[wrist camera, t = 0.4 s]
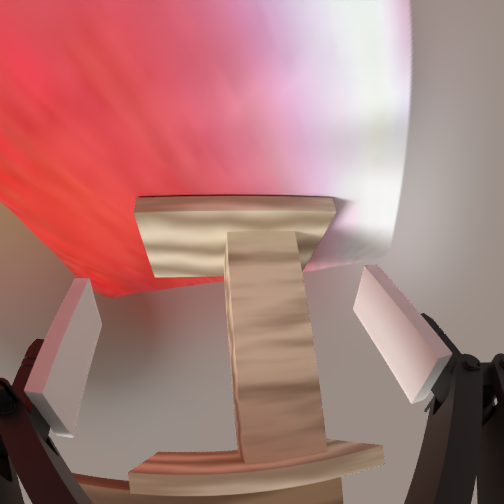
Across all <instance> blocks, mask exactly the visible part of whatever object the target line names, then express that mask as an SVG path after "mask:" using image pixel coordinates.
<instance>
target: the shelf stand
mask: <svg viewBox="0 0 504 504" xmlns="http://www.w3.org/2000/svg"><path fill="white" fill-rule="evenodd" d="M336 212H337V211H336V207H335V204H334V200H333V198H325V197H294V196H175V197H143V198H136V202H135V208H134V215H135V218H136V221H137V225H138V228H139V231H140V234H141V237H142V240H143V243H144V247H145V250H146V253H147V256H148V258H149V261H150V264H151V267H152V270H153V273H154V276H155V277H200V276H224V279H225V295H226V311H227V326H228V340H229V354H230V367H231V379H232V390H233V402H234V414H235V425H236V435H237V445H238V450H232V451H216V452H157V453H156V454H155V455H153V456H152V457H150V458H149V459H147V460H146V461H144V462H143V463H142V464H140V465H139V466H137V467H135V468H134V469H132V470H131V471H129V472H128V476H129V485H130V493H133V494H144V495H161V496H216V495H233V494H245V493H255V492H264V491H271V490H278V489H285V488H291V487H297V486H302V485H308V484H313V483H317V482H322V481H326V480H331V479H335V478H339V477H343V476H347V475H351V474H354V473H357V472H361V471H365V470H368V469H371V468H374V467H378V466H381V465H384V464H385V463H384V454H383V445H375V444H365V443H356V442H347V441H340V440H332V439H326V435H325V426H324V417H323V409H322V401H321V393H320V385H319V378H318V372H317V371H318V370H317V363H316V357H315V351H314V350H315V349H314V343H313V337H312V330H311V324H310V317H309V310H308V304H307V298H306V292H305V286H304V280H303V274H302V271H303V269H304V268H305V266H306V264H307V263H308V261H309V259H310V258H311V256H312V254H313V252H314V251H315V249H316V247H317V246H318V244H319V242H320V240H321V239H322V237H323V235H324V233H325V232H326V230H327V228H328V226H329V225H330V223H331V221H332V219H333V218H334V216H335V214H336Z"/></svg>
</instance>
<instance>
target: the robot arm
mask: <svg viewBox="0 0 504 504" xmlns="http://www.w3.org/2000/svg"><path fill="white" fill-rule="evenodd" d="M353 310H354V312H355V313H356V315H357V316H358V318H359V320H360V321H361V323H362V324H363V326H364V327H365V329H366V331H367V332H368V333H369V335H370V337H371V338H372V340H373V341H374V343H375V345H376V346H377V348H378V350H379V351H380V353H381V354H382V356H383V358H384V359H385V361H386V363H387V364H388V366H389V367H390V369H391V371H392V372H393V374H394V375H395V377H396V379H397V381H398V382H399V384H400V386H401V387H402V389H403V390H404V392H405V394H406V396H407V397H408V399H409V401H410V403H411V404H412V403H415V402H418V401H421V400H424V399H425V398H426V397H427V395H428V394H429V392H430V391H432V392H433V394H434V397H433V398H432V400H431V401H430V402H429V404H428V405H427V407H426V408H425V412H427V410H428V409H429V408H430V411H429V416H428V421H427V426H426V430H425V434H424V439H423V443H422V447H421V451H420V455H419V458H418V462H417V465H416V469H415V472H414V476H413V479H412V482H411V485H410V488H409V491H408V494H407V497H406V500H405V503H404V504H471V501H472V495H473V491H474V485H475V479H476V476H477V499H478V504H504V354H497V355H495V357H494V358H493V360H492V362H490V363H480V361H479V360H478V359H477V358H475V357H474V356H472V355H469V354H461V353H460V352H459V350H458V349H457V348H456V347H455V345H454V344H453V343H452V342H451V341H450V339H449V338H448V337H447V336H446V334H444V332H443V331H442V330H441V328H439V326H438V325H437V324H436V322H435V321H434V320H433V319H432V318H430V317H429V316H427V315H426V314H424V313H423V314H420V313H419V312H418V311H417V309H416V308H415V307H414V306H413V305H412V304H411V303H410V301H409V300H408V299H407V298H406V297H405V296H404V295H403V293H402V292H401V291H400V290H399V289H398V288H397V287H396V285H395V284H394V283H393V282H392V281H391V280H390V279H389V278H388V276H387V275H386V274H385V273H384V272H383V271H382V270H381V269H380V268H379V267H378V266H377V265H366V266H364V269H363V273H362V277H361V281H360V285H359V289H358V293H357V297H356V301H355V304H354V308H353ZM101 327H102V322H101V319H100V315H99V312H98V309H97V305H96V302H95V298H94V294H93V290H92V287H91V283H90V279H89V278H80V279H75V280H74V281H73V283H72V285H71V287H70V289H69V291H68V293H67V295H66V297H65V299H64V301H63V302H62V304H61V306H60V308H59V311H58V312H57V315H56V317H55V319H54V321H53V323H52V325H51V327H50V329H49V331H48V334H47V336H46V338H45V339H36V340H35V341H34V342H33V343H32V344H31V346H30V347H29V348H28V350H27V352H26V354H25V359H23V361H22V363H21V367H20V368H19V370H18V373H17V375H16V377H15V380H14V382H13V385H12V386H11V385H10V383H9V382H8V380H6V379H4V378H0V504H24V501H23V497H22V493H21V489H20V486H19V481H18V477H17V474H18V476H19V478H20V481H21V483H22V484H23V487H24V489H25V491H26V492H27V494H28V496H29V498H30V500H31V502H32V503H33V504H93V503H92V501H91V500H90V499H89V497H88V496H87V494H86V493H85V492H84V490H83V489H82V487H81V486H80V485H79V483H78V482H77V480H76V479H75V477H74V476H73V474H72V473H71V471H70V470H69V468H68V467H67V465H66V463H65V462H64V460H63V458H62V457H61V455H60V453H59V452H58V450H57V448H56V447H55V445H54V443H53V442H52V439H51V438H50V437H49V436H48V434H49V430H50V428H51V429H52V430H53V431H54V433H55V434H56V435H59V436H65V437H72V438H74V433H75V428H76V423H77V418H78V414H79V409H80V405H81V401H82V396H83V392H84V388H85V384H86V380H87V376H88V372H89V369H90V365H91V361H92V358H93V354H94V350H95V347H96V344H97V340H98V337H99V333H100V330H101ZM495 398H497V401H498V403H497V405H495V403H494V399H495ZM16 472H17V473H16Z"/></svg>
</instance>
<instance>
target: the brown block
mask: <svg viewBox="0 0 504 504" xmlns="http://www.w3.org/2000/svg"><path fill="white" fill-rule="evenodd" d="M72 474H73V476H74V477H75V479H76V480H77V482H78V483H79V485H80V486H81V487H82V489H83V490H84V492H85V493H86V494H87V496H88V497H89V499H90V500H91V501H92V503H93V504H343V495H342V483H341V477H339V478H335V479H331V480H326V481H322V482H317V483H313V484H308V485H302V486H297V487H291V488H285V489H278V490H271V491H264V492H255V493H245V494H233V495H216V496H161V495H144V494H133V493H130V485H129V481H124V480H114V479H107V478H99V477H93V476H86V475H81V474H75V473H72Z"/></svg>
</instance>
